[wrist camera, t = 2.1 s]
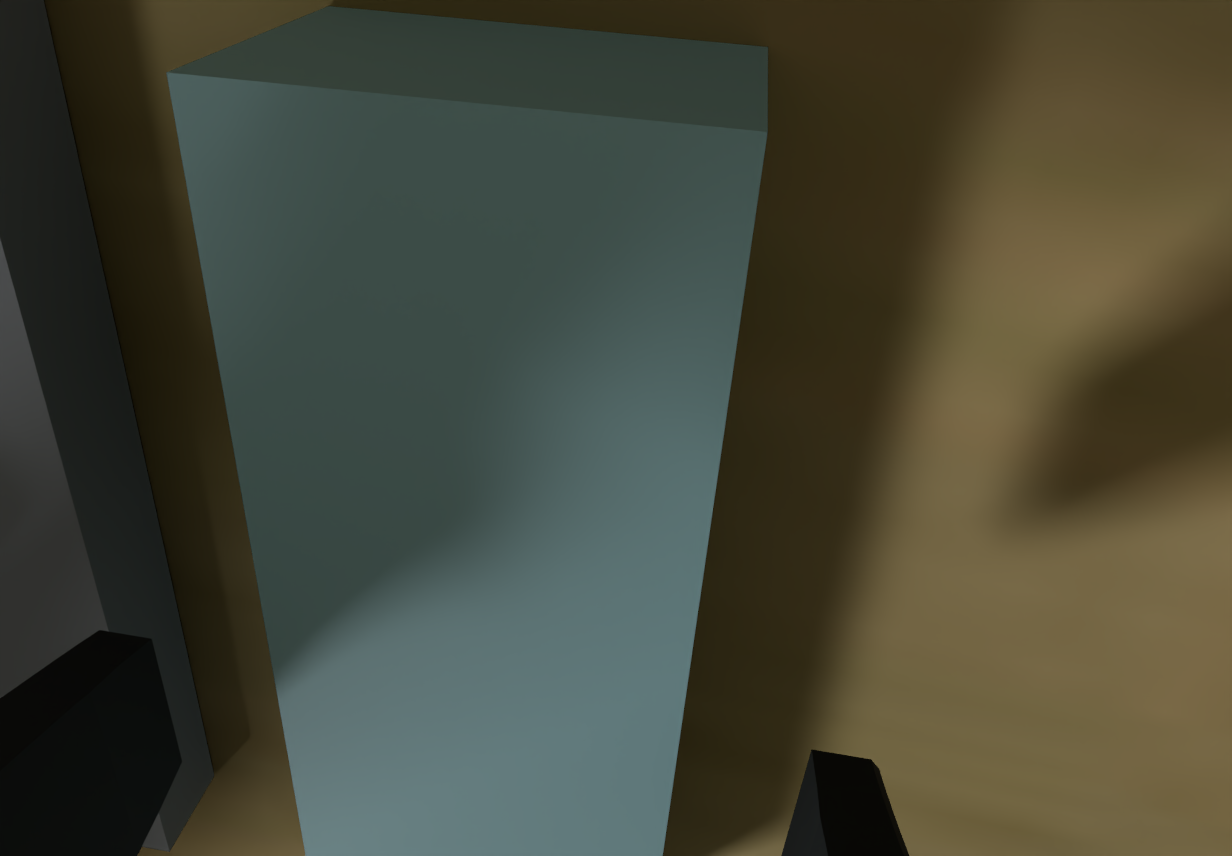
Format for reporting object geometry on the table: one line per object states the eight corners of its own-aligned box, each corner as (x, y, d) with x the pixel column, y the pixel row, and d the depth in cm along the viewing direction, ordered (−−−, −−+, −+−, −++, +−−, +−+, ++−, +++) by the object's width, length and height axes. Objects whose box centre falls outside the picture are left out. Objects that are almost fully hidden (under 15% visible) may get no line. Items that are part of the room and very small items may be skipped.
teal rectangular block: (654, 868, 17) (629, 1081, 14) (408, 828, 18) (336, 1029, 15) (768, 40, 10) (767, 132, 7) (339, 0, 10) (166, 71, 7)
